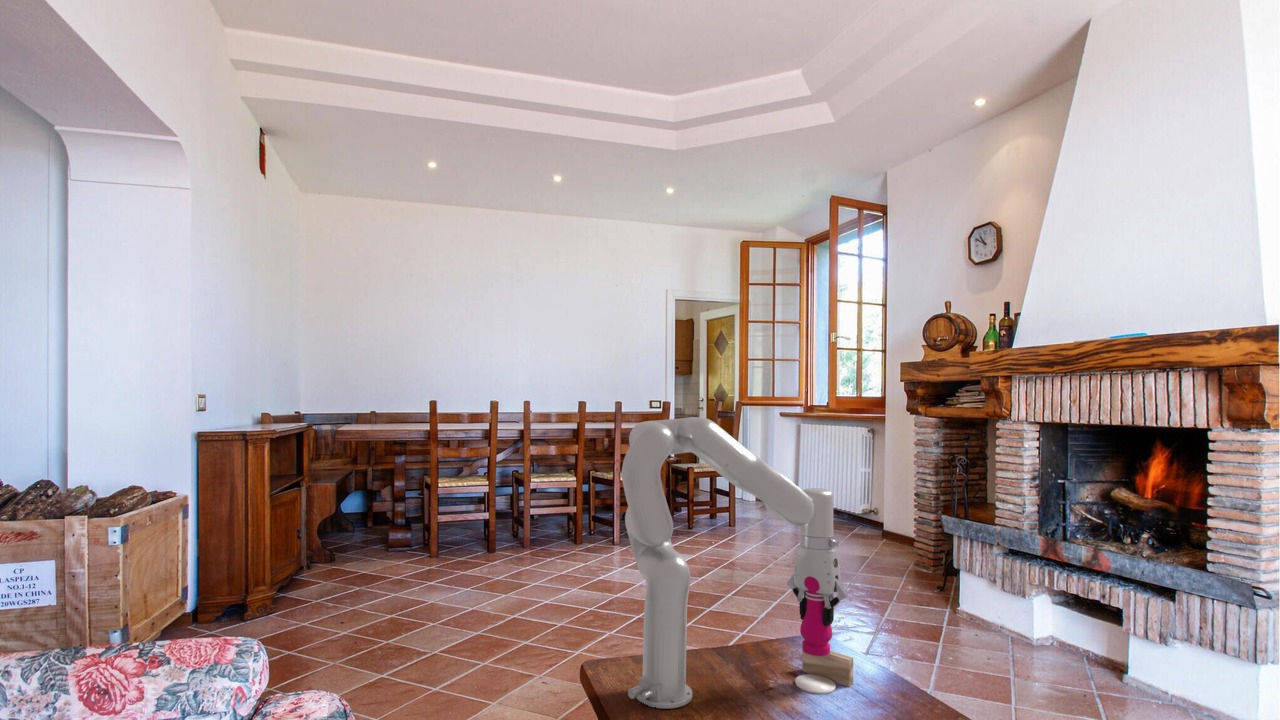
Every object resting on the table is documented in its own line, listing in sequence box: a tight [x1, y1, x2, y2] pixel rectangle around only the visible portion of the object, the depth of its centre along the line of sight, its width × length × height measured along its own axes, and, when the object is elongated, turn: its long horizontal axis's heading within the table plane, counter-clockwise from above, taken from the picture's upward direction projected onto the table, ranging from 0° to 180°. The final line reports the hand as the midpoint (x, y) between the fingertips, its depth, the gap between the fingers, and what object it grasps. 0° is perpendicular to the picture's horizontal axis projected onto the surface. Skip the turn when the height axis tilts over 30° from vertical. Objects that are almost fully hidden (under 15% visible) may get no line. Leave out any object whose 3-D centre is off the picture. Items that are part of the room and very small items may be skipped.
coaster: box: [794, 673, 836, 695], centre depth 151 cm, size 9×9×1 cm
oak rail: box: [801, 650, 854, 688], centre depth 155 cm, size 2×12×6 cm, turn 47°
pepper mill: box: [799, 576, 833, 656], centre depth 152 cm, size 7×7×20 cm
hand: (816, 620), depth 151 cm, fingers closed on pepper mill, 5 cm apart
